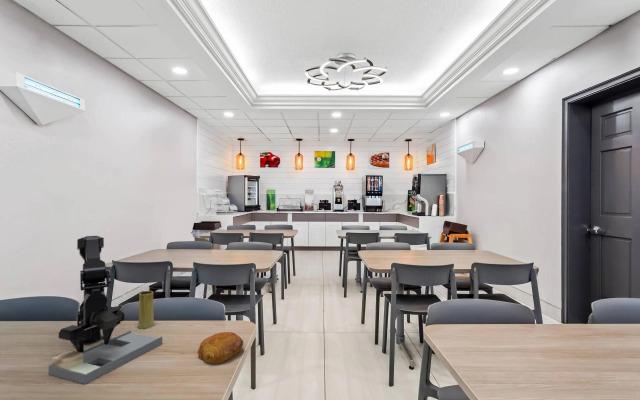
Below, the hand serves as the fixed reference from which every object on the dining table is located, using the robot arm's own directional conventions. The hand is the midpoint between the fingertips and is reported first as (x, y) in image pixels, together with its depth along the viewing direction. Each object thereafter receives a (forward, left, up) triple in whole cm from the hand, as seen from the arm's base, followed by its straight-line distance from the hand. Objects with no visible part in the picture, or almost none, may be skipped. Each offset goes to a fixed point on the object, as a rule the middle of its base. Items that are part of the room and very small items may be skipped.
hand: (94, 349), depth 109 cm
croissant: (+37, +18, -4) cm, 41 cm away
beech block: (-1, -8, -1) cm, 8 cm away
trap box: (+4, +3, -3) cm, 6 cm away
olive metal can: (-8, +28, -4) cm, 30 cm away
